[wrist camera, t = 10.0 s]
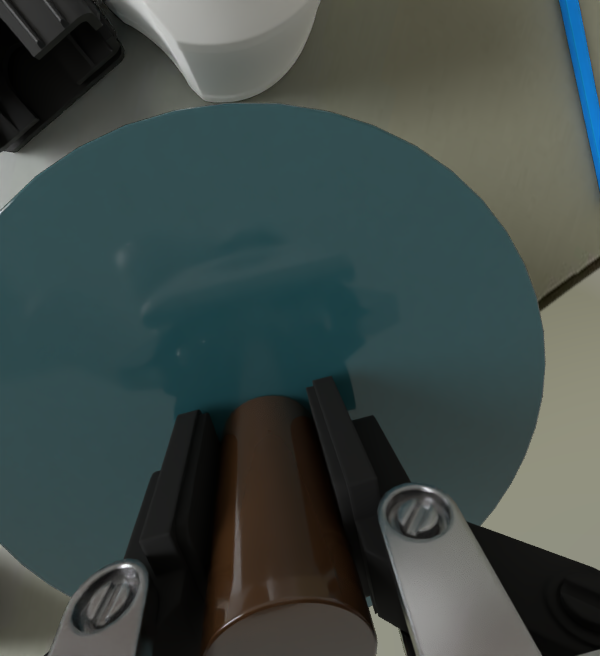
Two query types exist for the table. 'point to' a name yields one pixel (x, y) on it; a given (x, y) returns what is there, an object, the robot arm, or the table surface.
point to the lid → (253, 350)
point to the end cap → (49, 62)
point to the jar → (224, 40)
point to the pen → (583, 75)
